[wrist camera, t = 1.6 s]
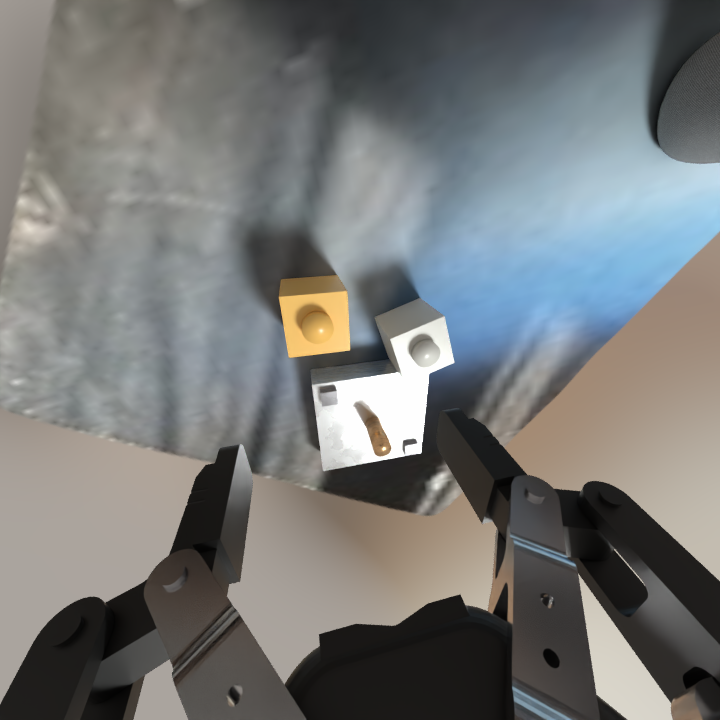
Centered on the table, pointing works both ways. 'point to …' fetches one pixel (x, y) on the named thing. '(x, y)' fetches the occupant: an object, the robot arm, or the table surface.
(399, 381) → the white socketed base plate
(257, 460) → the table surface
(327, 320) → the yellow knobbed cube
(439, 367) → the grey cap
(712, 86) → the smart speaker
